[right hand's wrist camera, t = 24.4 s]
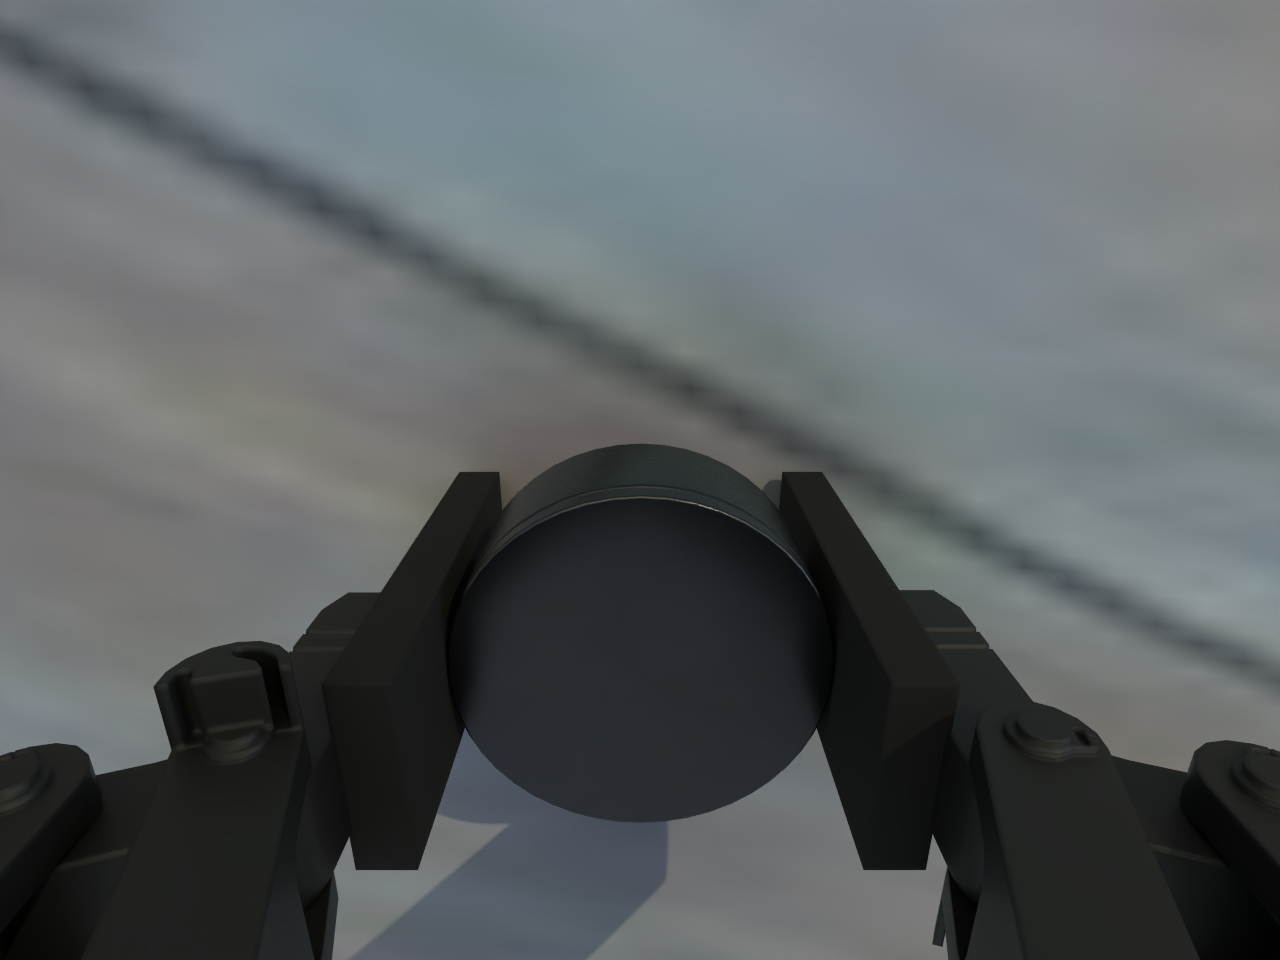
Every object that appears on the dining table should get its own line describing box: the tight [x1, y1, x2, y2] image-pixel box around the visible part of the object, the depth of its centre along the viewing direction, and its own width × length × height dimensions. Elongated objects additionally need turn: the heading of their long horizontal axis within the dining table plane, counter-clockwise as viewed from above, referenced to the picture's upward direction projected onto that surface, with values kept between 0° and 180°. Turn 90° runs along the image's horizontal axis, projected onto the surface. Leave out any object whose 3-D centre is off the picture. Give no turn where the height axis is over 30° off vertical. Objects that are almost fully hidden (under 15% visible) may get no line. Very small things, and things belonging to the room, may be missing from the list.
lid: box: [447, 444, 835, 822], centre depth 11 cm, size 5×5×2 cm
